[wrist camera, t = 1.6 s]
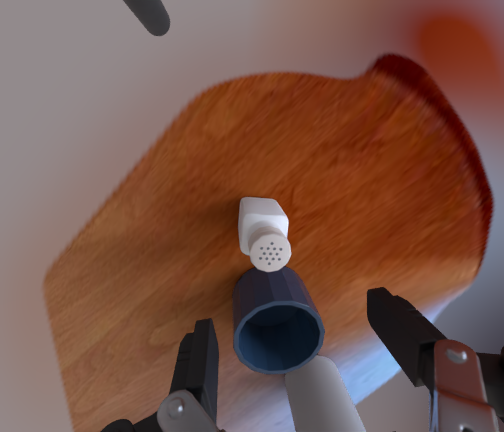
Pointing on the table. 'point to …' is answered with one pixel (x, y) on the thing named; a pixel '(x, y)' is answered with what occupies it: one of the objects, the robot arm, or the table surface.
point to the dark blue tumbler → (274, 321)
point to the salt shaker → (263, 233)
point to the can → (321, 399)
